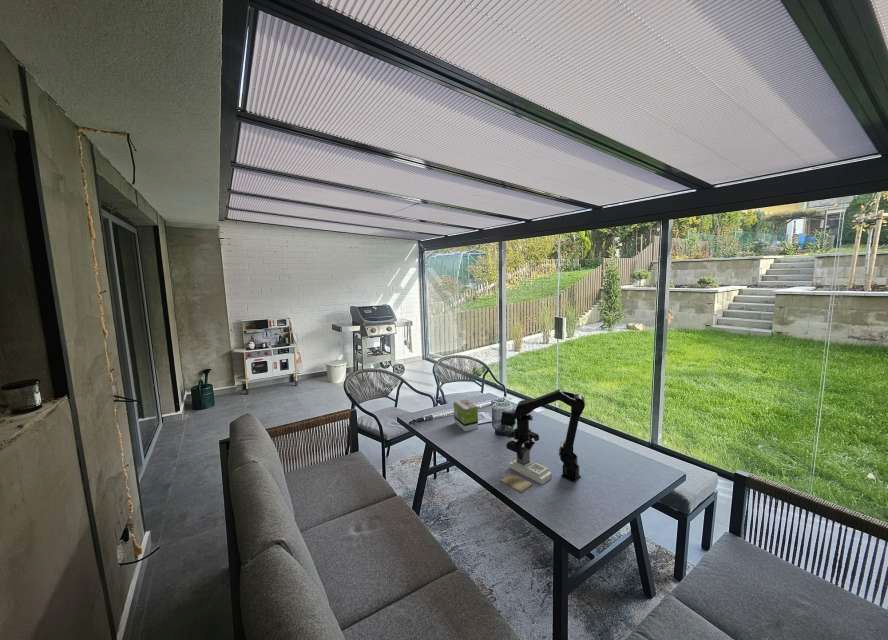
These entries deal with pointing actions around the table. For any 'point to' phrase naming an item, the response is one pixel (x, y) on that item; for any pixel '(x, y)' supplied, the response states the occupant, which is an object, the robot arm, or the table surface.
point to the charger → (524, 457)
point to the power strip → (532, 470)
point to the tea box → (466, 415)
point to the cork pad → (516, 482)
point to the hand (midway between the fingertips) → (523, 457)
